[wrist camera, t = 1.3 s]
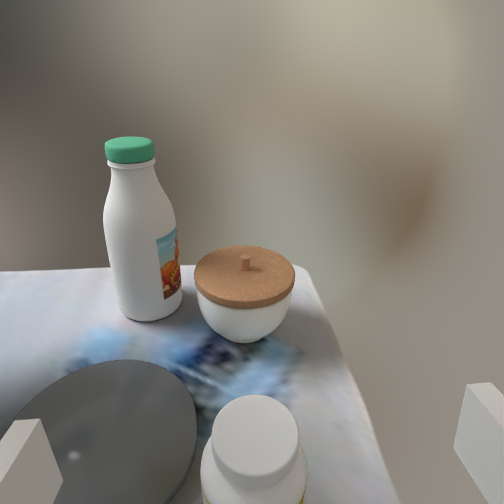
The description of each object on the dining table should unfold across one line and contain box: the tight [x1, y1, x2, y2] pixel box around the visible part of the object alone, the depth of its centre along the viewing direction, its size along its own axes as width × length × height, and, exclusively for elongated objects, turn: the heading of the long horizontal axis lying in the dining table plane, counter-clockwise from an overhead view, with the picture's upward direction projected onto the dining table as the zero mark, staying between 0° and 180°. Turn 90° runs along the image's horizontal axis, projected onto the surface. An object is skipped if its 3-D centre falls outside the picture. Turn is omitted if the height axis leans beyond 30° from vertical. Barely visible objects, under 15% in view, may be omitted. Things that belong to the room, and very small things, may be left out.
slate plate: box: [4, 360, 197, 504], centre depth 29 cm, size 15×15×2 cm
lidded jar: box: [194, 246, 295, 343], centre depth 40 cm, size 11×11×9 cm
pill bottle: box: [200, 395, 307, 504], centre depth 22 cm, size 6×6×11 cm
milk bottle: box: [103, 137, 182, 321], centre depth 40 cm, size 8×8×20 cm
